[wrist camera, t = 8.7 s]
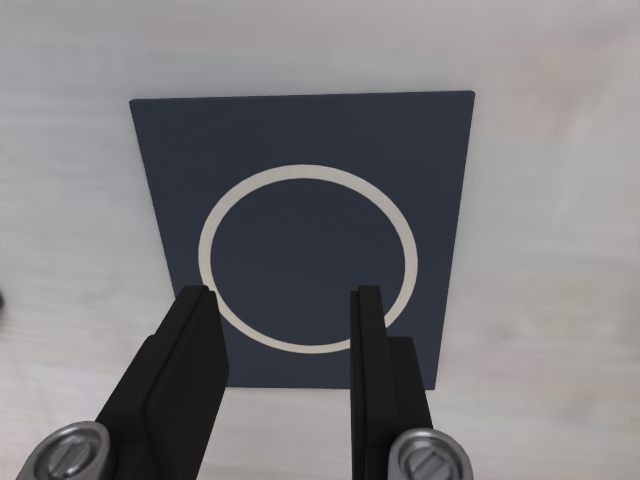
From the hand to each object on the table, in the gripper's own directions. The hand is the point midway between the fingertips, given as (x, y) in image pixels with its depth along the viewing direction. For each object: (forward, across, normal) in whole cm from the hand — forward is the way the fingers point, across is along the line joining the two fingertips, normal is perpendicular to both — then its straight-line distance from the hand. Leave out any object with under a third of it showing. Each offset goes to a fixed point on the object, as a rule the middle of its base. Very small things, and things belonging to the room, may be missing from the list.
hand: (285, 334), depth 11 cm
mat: (+7, 0, +2) cm, 7 cm away
